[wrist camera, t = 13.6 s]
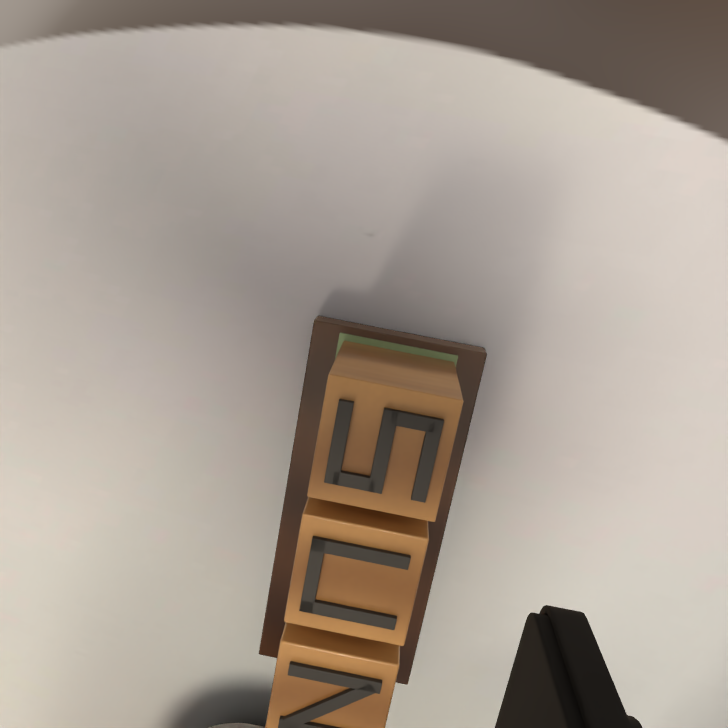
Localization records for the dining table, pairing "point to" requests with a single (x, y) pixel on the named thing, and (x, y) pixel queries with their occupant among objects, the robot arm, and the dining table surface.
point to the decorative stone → (236, 725)
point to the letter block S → (386, 431)
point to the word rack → (352, 562)
